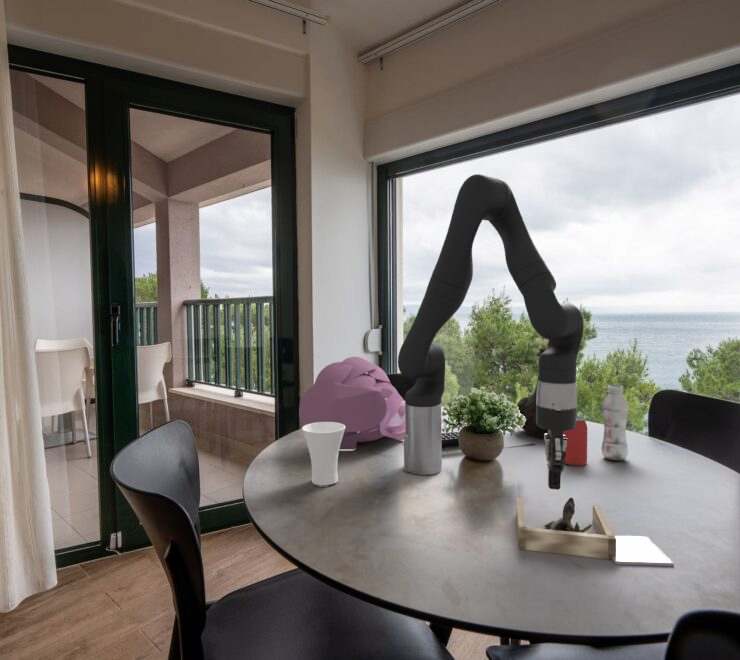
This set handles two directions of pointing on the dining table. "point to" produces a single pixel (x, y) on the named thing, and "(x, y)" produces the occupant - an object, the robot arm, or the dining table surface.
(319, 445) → the cup
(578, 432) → the beer can
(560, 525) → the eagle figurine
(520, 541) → the frame
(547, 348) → the robot arm
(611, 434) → the plastic bottle
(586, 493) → the dining table surface
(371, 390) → the purple rounded folded piece
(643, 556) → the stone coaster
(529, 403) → the glass bottle
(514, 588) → the dining table surface
